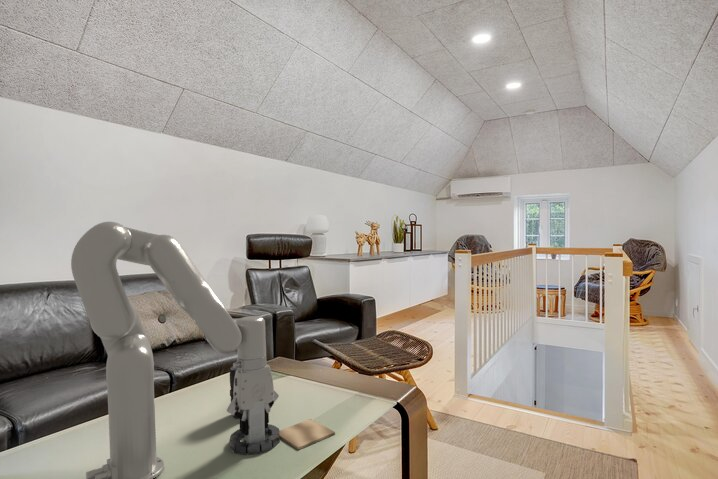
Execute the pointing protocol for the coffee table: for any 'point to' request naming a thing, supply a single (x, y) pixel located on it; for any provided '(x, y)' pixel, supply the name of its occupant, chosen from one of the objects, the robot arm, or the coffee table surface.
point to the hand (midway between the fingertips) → (254, 429)
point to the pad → (305, 434)
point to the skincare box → (256, 423)
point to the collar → (257, 446)
